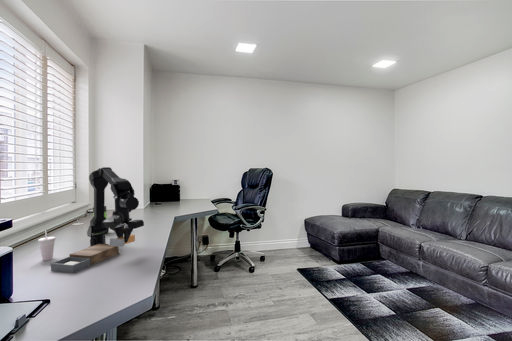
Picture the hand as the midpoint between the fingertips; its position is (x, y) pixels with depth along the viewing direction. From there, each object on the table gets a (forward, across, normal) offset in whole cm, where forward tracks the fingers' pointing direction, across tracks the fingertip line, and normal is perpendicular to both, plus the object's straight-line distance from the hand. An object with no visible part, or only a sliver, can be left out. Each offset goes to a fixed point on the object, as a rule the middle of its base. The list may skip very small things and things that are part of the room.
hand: (123, 242), depth 118 cm
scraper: (+1, 0, +1) cm, 1 cm away
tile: (+5, -14, -15) cm, 21 cm away
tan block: (+7, -14, -2) cm, 16 cm away
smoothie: (+8, -36, -8) cm, 38 cm away
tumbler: (+8, -50, +34) cm, 61 cm away
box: (+7, -14, -14) cm, 21 cm away
